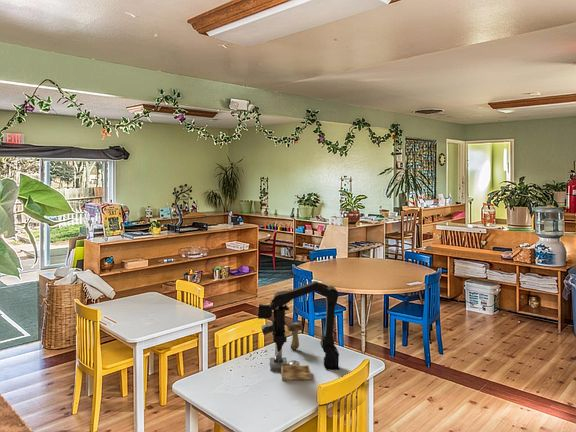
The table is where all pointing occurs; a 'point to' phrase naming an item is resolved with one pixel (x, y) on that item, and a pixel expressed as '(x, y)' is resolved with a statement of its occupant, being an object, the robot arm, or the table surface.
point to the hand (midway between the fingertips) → (278, 350)
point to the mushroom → (295, 334)
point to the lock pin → (278, 354)
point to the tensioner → (281, 364)
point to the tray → (295, 373)
